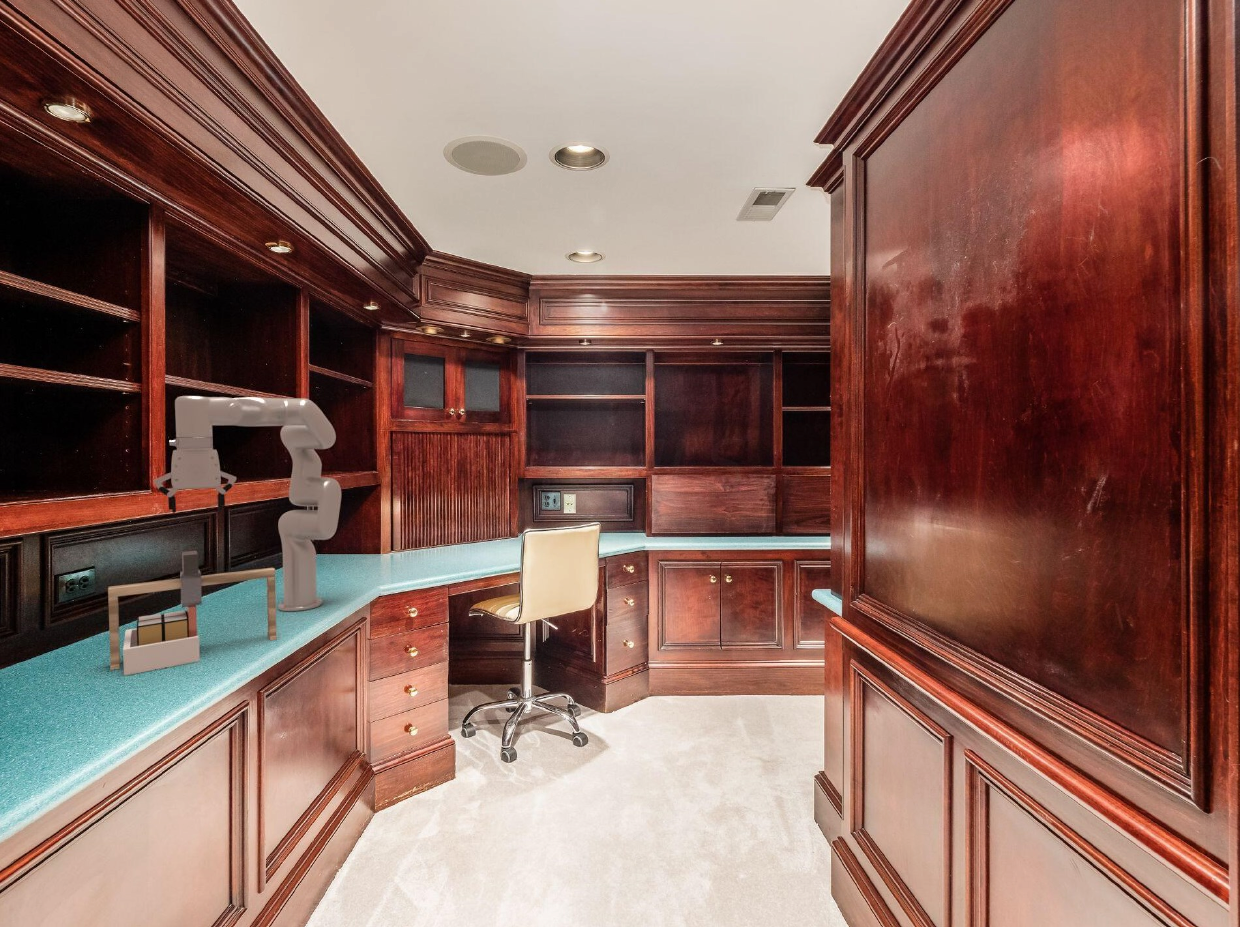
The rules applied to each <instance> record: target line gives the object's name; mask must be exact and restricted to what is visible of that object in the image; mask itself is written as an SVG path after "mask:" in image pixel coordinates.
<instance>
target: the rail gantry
mask: <svg viewBox="0 0 1240 927" xmlns="http://www.w3.org/2000/svg"><path fill="white" fill-rule="evenodd" d="M258 579H266V602H267V603H266V604H267V608H266V609H267V610H266V611H267V613H266V614H267V632H266V636H267V637H268V639H269V640H270V641H276V639H277V640H278V635H277V605H276V596H277V595H276V569H275V568H274V567H267V568H257V569H249V570H241V571H239V570H238V571H232V572H222V573H215V574H207V575H201V587H203V586H204V587H205V586H212V585H219V584H225V583H226V584H229V583H234V582H236V583H237V582H242V581H243V582H244V581H249V580H251V581H252V580H258ZM179 589H180V590H181V578H180V577H179V578H174V579H164V580H156V581H146V582H140V583H139V582H138V583H128V584H121V585H114V586H108V588H107V594H108V595H107V597H108V598H107V599H108V623H109V625H108V627H109V629H108V630H109V654H110V655H109V656H110V658H109V660H110V665H109V666H110V671H114V669H115V670H119V669H120V666H121V655H120V654H121V652H120V651H121V650H120V646H121V645H120V624H119V623H120V622H119V621H120V620H119V618H120V617H119V597H125V596H132V595H141V594H148V593H157V592H163V591H171V590H179Z"/></svg>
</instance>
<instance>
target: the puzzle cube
mask: <svg viewBox="0 0 1240 927" xmlns="http://www.w3.org/2000/svg"><path fill="white" fill-rule="evenodd" d="M136 628H137V646H141V645H147V644H153V643H159V642H165V641H171V640H177V639H183V638H189V620H188V615H187V609H186V610H185V609H184V610H178V611H177V610H176V611H172V612H171V611H170V612H166V613H165V612H163V614H162V613H156V614H151V615H150V614H149V615H143V616H142V615H141V616H138V617H137V620H136Z"/></svg>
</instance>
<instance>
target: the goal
mask: <svg viewBox="0 0 1240 927" xmlns="http://www.w3.org/2000/svg"><path fill="white" fill-rule="evenodd" d="M124 632H125V633H124V640H123V648H122V654H123V655H122V656H123V659H122V660H123V676H124V677H125V676H128V675H135V674H140V673H145V672H150V671H155V669H156V670H160V669H165V667H167V668H171V667H175V666H176V667H177V666H181V665H186V664H190V663H191V664H192V663H197V662H200V661H201V659H200V658H201V657H200V637H199V636H200V635H197V636H194V637H189V638H183V639H177V640H171V641H165V642H159V643H153V644H147V645H141V646H137V627H136V628H131V629H129V628H128V629H125V631H124Z"/></svg>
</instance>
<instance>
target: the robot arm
mask: <svg viewBox="0 0 1240 927" xmlns="http://www.w3.org/2000/svg"><path fill="white" fill-rule="evenodd" d="M174 410H175V433H176V434H175V437H176V438H174V439H173V440H172V439H169V446H173V447H176V449H174V450H173V451H172V456H171V465H170V466H171V471H170V472H169V473H166V474H164V475H162V476H159V477H158V478H155V479H153V484H154V485H155V487H156V488H157V489H158V491H159V492H161V493H162V494H163V495H165V496H166V497H167V499H168V500H167V501H168V510H171V512H172V514H175V513H176V512H177V500H176V496H175V494H176V493H177V492H178V491H179V490H197V489H198V490H199V489H213V488H214V489H215V490H216V491H217V492H218V494H217V509H218V510H219V511H222V510H223V507H226V499H225V497H226V496H225V494H227V492H228V491H230V490H231V489H232V488H233V485H235V482H236V481H237V476H234V475H232V474H229V473H227V472H224V471H222V470H221V466H220V459H219V454H218V451H217V449H214V445H213V444H214V443H213V442H214V441H213V426H237V427H280V426H281V430H280V439H281V442H282V443H283V445H284V447H285V449H287V451H288V453H289V454H290V457H291V460H292V472H291V477H290V481H289V482H290V484H289V491H288V499H289V502H290V503H291V504H292V505H295V506H299V507H317V509H315V510H313V509H312V510H311V509H293V510H289V511H287V512H285V513H283V514H282V515H281V516H280V518H279V519H278V524H277V525H278V526H277V527H278V534H279V536H280V541H281V549H282V576H283V577H282V578H283V579H282V580H283V582H282V583H283V588H282V589H283V601H282V602H281V603H279V604H278V610H279V611H282V612H298V611H299V612H300V611H305V610H313V609H315V608H318V607H320V606H321V605H322V604H323V600H322V599H321V598H319V597H318V596H317V595H318V594H317V551H316V548H315V546H314V544H313V542H312V541H311V540H313V541H316V540H317V541H319V540H322V541H325V540H329V539H331V538H332V537H333V536H334V535H335V534H336V532H337V528H338V523H339V517H340V510H341V502H342V489H341V485H340V483H339V482H338V481H337V480H336V479H335V478H332V477H322V466H323V464H322V461H321V458H320V456H319V455H318V453H317V452H316V451H315V450H326V449H329V448H331V447H332V446H333V445H334V444H335V442H336V438H337V435H336V431H335V429H334V427H333V425H332V424H331V422H330V420H328V418H327V417H326V415H325V414H324V413H323V411H322V410H321V409H320V407H318V405H317V404H316V403H314V401H312V400H310V399H308V398H279V397H275V398H274V397H258V396H256V397H255V396H253V397H250V396H246V397H234V398H232V397H225V396H219V397H218V396H211V397H210V396H202V395H201V396H200V395H182V396H177V397H176V398H175V400H174ZM221 477H222V478H225V479H227V480H228V481H227V483H226V484H225V485H224V486H223V487H222V486H221V481H222V480H221ZM170 479H171V485H172V487H171V488H170V489H167V487H165V486H164V485H163V482H165V481H167V480H170Z"/></svg>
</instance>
